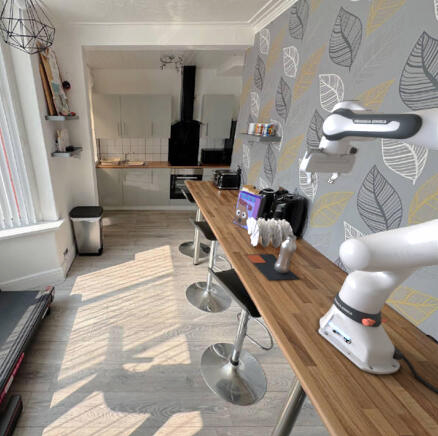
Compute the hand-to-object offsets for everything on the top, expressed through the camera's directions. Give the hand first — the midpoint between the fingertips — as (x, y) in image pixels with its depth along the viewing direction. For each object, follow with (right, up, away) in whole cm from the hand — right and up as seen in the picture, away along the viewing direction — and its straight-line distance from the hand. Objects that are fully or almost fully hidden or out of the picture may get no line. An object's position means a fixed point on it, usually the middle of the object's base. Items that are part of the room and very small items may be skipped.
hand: (320, 183), depth 95 cm
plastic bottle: (-3, -41, +23) cm, 47 cm away
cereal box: (0, -20, +73) cm, 76 cm away
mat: (-5, -39, +28) cm, 48 cm away
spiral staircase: (+3, -31, +48) cm, 58 cm away
